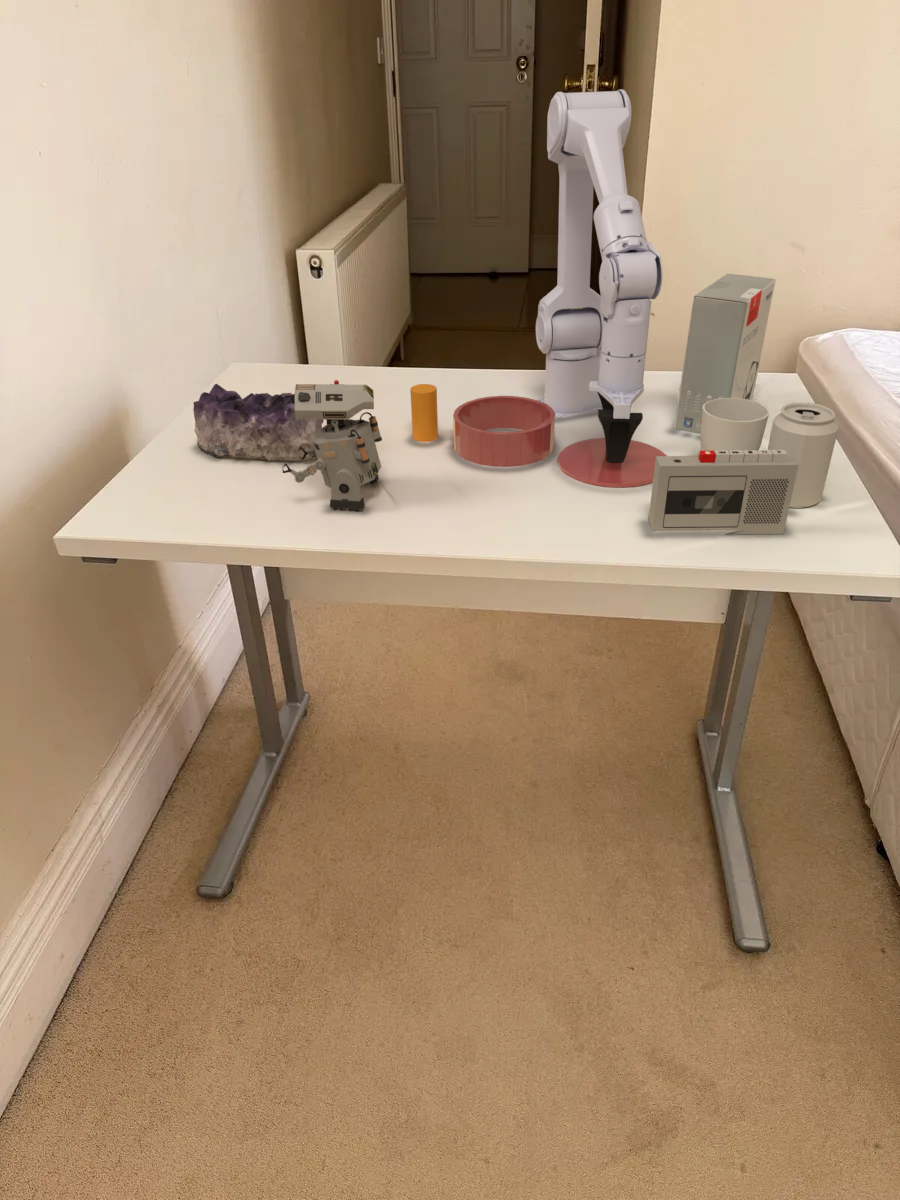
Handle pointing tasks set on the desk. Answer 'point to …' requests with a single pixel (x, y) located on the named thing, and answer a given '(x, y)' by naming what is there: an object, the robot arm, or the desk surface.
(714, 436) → the cup
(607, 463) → the lid
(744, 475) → the cassette player
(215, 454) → the geode
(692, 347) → the hard drive box
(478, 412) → the pot
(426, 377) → the desk surface
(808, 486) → the can
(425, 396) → the candle
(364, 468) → the figurine
